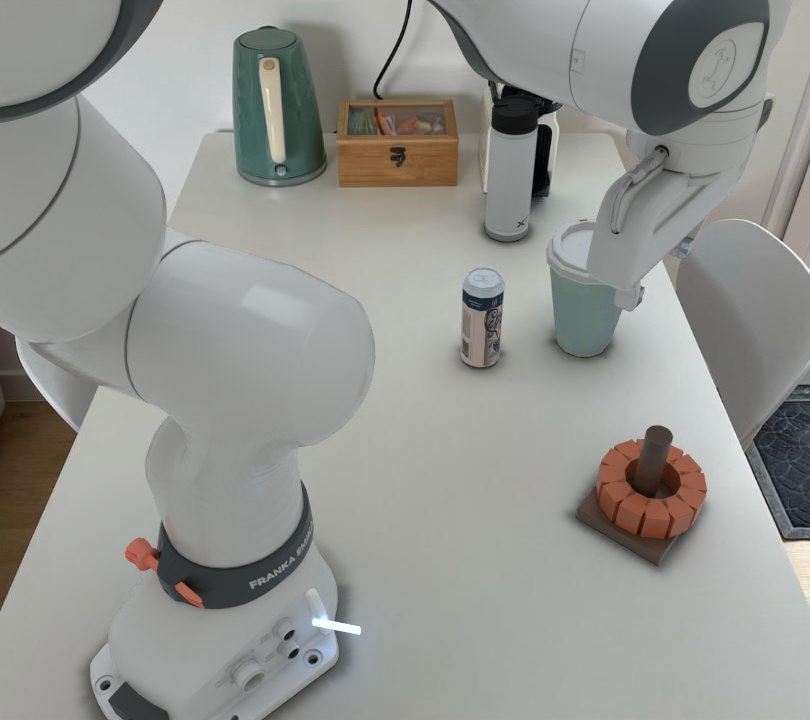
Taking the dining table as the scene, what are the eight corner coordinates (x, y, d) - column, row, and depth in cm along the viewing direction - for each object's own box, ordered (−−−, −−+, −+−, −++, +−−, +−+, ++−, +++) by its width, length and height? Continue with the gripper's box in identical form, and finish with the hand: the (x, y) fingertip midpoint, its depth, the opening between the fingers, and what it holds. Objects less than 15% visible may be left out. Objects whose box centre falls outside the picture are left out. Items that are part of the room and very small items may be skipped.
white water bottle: (532, 242, 117) (545, 111, 103) (486, 242, 117) (493, 111, 103) (527, 218, 121) (540, 90, 108) (483, 219, 122) (490, 90, 108)
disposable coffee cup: (636, 364, 97) (659, 262, 87) (549, 375, 96) (562, 273, 86) (606, 309, 105) (625, 210, 95) (525, 319, 104) (536, 219, 94)
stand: (658, 566, 77) (683, 489, 69) (575, 517, 81) (590, 440, 73) (699, 506, 82) (727, 428, 74) (619, 463, 86) (638, 385, 78)
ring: (674, 556, 76) (680, 537, 74) (578, 505, 80) (582, 486, 78) (715, 487, 82) (722, 468, 79) (623, 443, 86) (628, 424, 84)
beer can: (496, 372, 97) (502, 292, 89) (457, 367, 98) (459, 288, 89) (501, 346, 100) (507, 267, 92) (463, 341, 101) (466, 263, 93)
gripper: (664, 195, 52) (628, 357, 61) (785, 90, 63) (739, 239, 73) (578, 165, 55) (556, 324, 64) (708, 70, 66) (673, 216, 76)
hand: (654, 278), depth 68 cm, fingers open, 8 cm apart
